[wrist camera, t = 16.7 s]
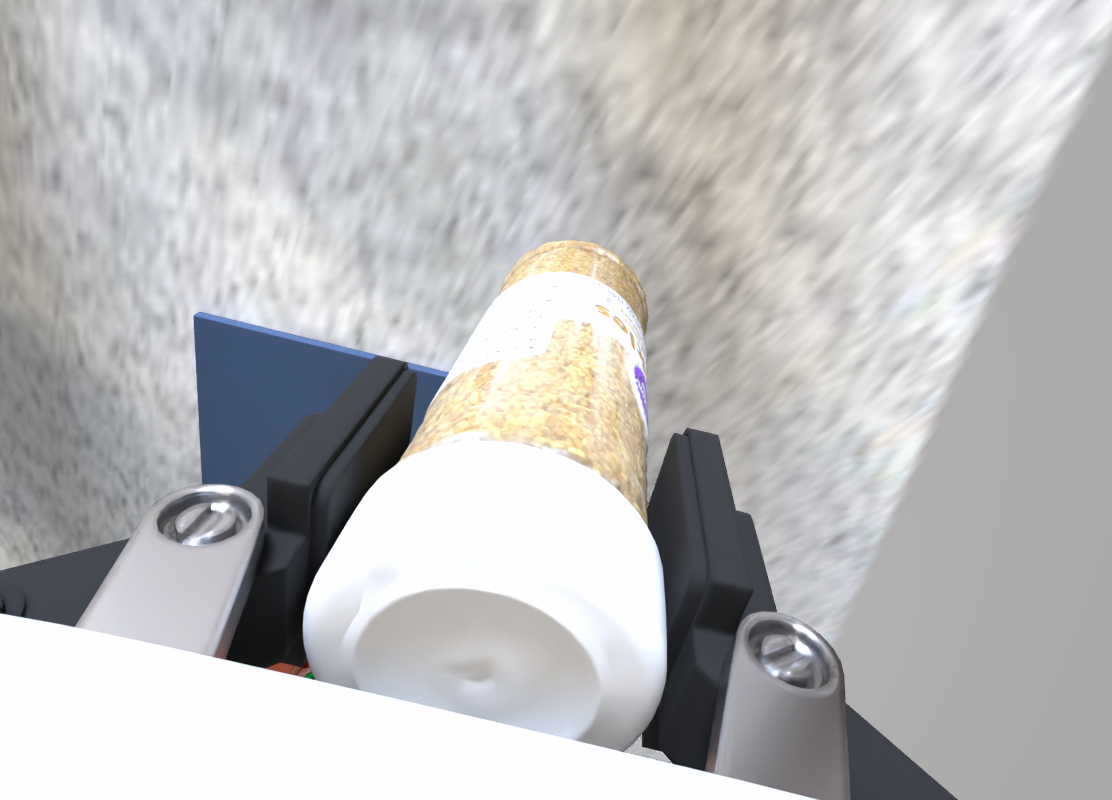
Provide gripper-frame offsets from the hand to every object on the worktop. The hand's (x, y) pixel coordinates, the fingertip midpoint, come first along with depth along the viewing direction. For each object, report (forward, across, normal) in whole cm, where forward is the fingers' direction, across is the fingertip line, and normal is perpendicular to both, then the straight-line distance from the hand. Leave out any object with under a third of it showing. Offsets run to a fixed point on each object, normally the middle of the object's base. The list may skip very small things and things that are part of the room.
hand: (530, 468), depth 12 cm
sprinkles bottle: (+9, 0, 0) cm, 9 cm away
